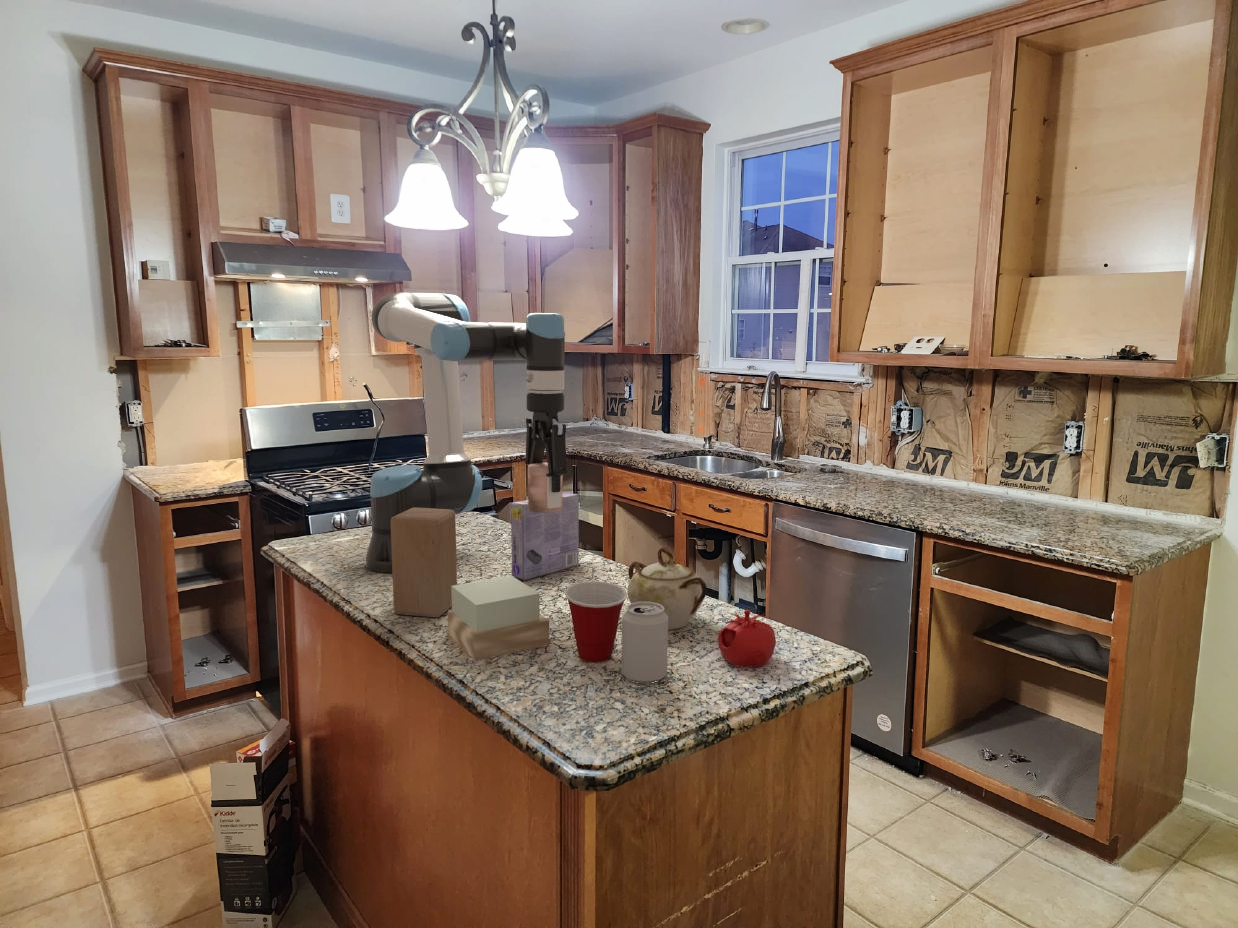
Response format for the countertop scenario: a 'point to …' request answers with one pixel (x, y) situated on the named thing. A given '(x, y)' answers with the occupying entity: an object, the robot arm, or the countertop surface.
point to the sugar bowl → (667, 588)
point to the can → (644, 642)
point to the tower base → (498, 637)
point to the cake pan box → (544, 539)
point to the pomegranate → (747, 641)
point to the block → (423, 561)
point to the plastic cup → (595, 617)
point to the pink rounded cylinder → (540, 489)
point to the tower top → (495, 603)
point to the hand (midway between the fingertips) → (545, 503)
